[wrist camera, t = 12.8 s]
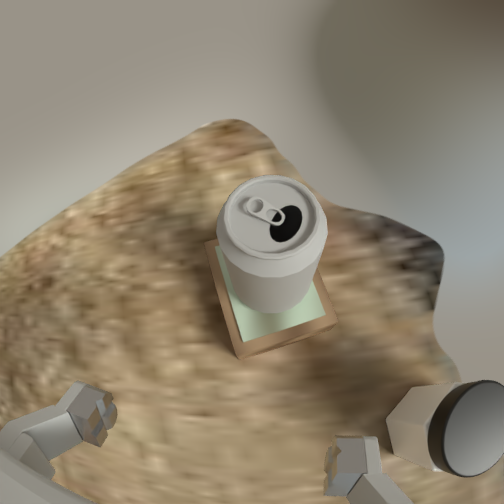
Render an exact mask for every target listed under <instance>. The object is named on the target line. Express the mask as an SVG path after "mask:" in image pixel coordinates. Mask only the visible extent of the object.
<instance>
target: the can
mask: <svg viewBox="0 0 504 504" xmlns="http://www.w3.org/2000/svg"><path fill="white" fill-rule="evenodd" d="M216 234H217V237H218V241H219V245H220V248H221V251H222V254H223V257H224V261H225V264H226V267H227V270H228V273H229V276H230V279H231V282H232V285H233V288H234V291H235V293H236V294H237V296H238V297H239V298H240V300H241V301H242V302H243V303H244V304H246V305H247V306H248V307H250V308H251V309H253V310H256V311H259V312H262V313H280V312H283V311H287V310H290V309H291V308H293V307H294V306H296V305H297V304H298V303H300V302H301V301H302V299H303V298H304V296H305V295H306V294H307V292H308V290H309V287H310V284H311V282H312V279H313V276H314V273H315V271H316V268H317V265H318V262H319V259H320V257H321V254H322V251H323V248H324V244H325V241H326V237H327V234H328V232H327V220H326V216H325V214H324V212H323V210H322V208H321V205H320V204H319V203H318V202H317V200H316V198H315V196H314V195H313V193H312V192H311V191H310V190H309V189H308V188H307V187H306V186H305V185H303V184H301V183H300V182H298V181H296V180H294V179H292V178H288V177H284V176H281V175H263V176H259V177H255V178H251V179H249V180H248V181H246V182H244V183H242V184H241V185H239V186H238V187H237V188H236V189H235V190H234V191H233V192H232V193H231V194H230V195H229V197H228V199H227V201H226V202H225V203H224V205H223V207H222V209H221V211H220V213H219V215H218V219H217V229H216Z"/></svg>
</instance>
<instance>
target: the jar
mask: <svg viewBox="0 0 504 504" xmlns="http://www.w3.org/2000/svg"><path fill="white" fill-rule="evenodd" d="M386 423H387V427H388V431H389V436H390V440H391V444H392V448H393V453H394V455H395V456H397V457H400V458H402V459H404V460H407V461H409V462H412V463H414V464H416V465H419V466H421V467H424V468H426V469H429V470H431V471H445V472H448V473H451V474H453V475H456V476H459V477H474V476H477V475H480V474H482V473H484V472H486V471H487V470H489V469H490V468H491V467H492V466H493V465H495V464H496V463H497V462H498V460H499V459H500V458H501V457H502V455H503V454H504V386H503V385H501V384H500V383H498V382H496V381H492V380H481V381H477V382H471V383H460V382H451V383H444V384H436V385H427V386H418V387H412V388H411V389H410V390H409V391H408V393H407V394H406V395H405V396H404V398H403V399H402V400H401V401H400V402H399V404H398V405H397V406H396V407H395V408H394V410H393V411H392V412H391V413H390V414H389V415H388V417H387V418H386Z"/></svg>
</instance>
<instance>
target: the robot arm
mask: <svg viewBox="0 0 504 504" xmlns="http://www.w3.org/2000/svg"><path fill="white" fill-rule="evenodd" d="M112 400H113V396H112V393H110V392H107V391H105V390H102V389H99V388H97V387H94V386H91V385H89V384H86V383H84V382H81V381H79V380H78V381H76V382H74V383H73V385H72V386H71V387H70V388H69V389H68V391H67V392H66V393H65V394H64V396H63V397H62V398H61V399H60V401H59V402H58V403H57V404H56V406H54V405H51V406H48V407H46V408H43V409H41V410H38V411H35V412H33V413H30V414H27V415H25V416H22V417H19V418H17V419H14V420H11V421H8V422H7V424H6V425H5V426H4V427H3V429H2V430H1V431H0V504H97V503H95V502H93V501H91V500H89V499H87V498H84V497H82V496H80V495H78V494H76V493H74V492H72V491H70V490H69V489H67V488H65V487H63V486H61V485H59V484H57V483H56V482H54V481H52V480H51V479H52V477H53V476H54V474H55V469H54V468H53V466H52V465H51V464H50V462H49V460H51V459H53V458H55V457H57V456H58V455H60V454H62V453H64V452H65V451H67V450H69V449H71V448H72V447H74V446H76V445H78V444H79V443H81V442H83V441H85V442H88V443H90V444H93V445H95V446H98V447H101V446H102V444H103V443H104V441H105V439H106V438H107V436H108V434H107V430H109V429H111V428H113V426H114V424H115V422H116V419H117V408H116V406H115V405H114V404H113V403H112ZM82 440H83V441H82ZM324 471H325V472H326V474H327V476H326V477H325V479H324V495H325V496H347V497H346V498H347V499H348V501H349V503H350V504H414V503H413V502H412V501H411V500H410V499H409V498H408V497H407V496H406V495H405V494H404V492H403V491H402V490H401V489H400V488H399V487H398V486H397V485H396V484H395V483H394V482H393V481H392V479H391V478H390V477H389V476H388V475H387V474H386V473H382V468H381V460H380V452H379V445H378V439H377V437H375V436H339V435H335V436H334V437H333V439H332V446H331V447H329V448H328V450H327V453H326V457H325V463H324Z"/></svg>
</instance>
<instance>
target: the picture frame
mask: <svg viewBox="0 0 504 504" xmlns="http://www.w3.org/2000/svg"><path fill="white" fill-rule="evenodd" d="M204 246H205V250H206V254H207V257H208V261H209V265H210V268H211V272H212V276H213V279H214V283H215V286H216V290H217V293H218V297H219V300H220V304H221V307H222V311H223V314H224V317H225V321H226V324H227V327H228V331H229V334H230V337H231V341H232V344H233V347H234V351H235V354H236V356H237V357H238V358H239V359H240V360H241V359H244V358H248V357H251V356H254V355H258V354H261V353H264V352H267V351H270V350H273V349H276V348H279V347H282V346H285V345H288V344H291V343H294V342H297V341H300V340H303V339H306V338H309V337H312V336H314V335H317V334H320V333H323V332H325V331H328V330H331V329H332V328H333V327H334V326H335V325H336V324H337V323H338V322H339V321H338V318H337V316H336V313H335V311H334V308H333V306H332V303H331V301H330V298H329V296H328V293H327V291H326V288H325V286H324V283H323V281H322V278H321V276H320V273H319V271H318V268H316V271H315V273H314V276H313V279H312V282H311V284H310V287H309V290H308V292H307V294H306V295H305V296H304V298H303V299H302V301H301V302H300V303H298V304H297V305H296V306H294V307H293V308H291V309H290V310H287V311H283V312H280V313H262V312H259V311H256V310H253V309H251V308H250V307H248V306H247V305H246V304H244V303H243V302H242V301H241V300H240V298H239V297H238V296H237V294H236V293H235V291H234V288H233V285H232V282H231V279H230V276H229V273H228V270H227V267H226V264H225V261H224V257H223V254H222V251H221V248H220V245H219V241H218V238H217V239H214V240H210V241H207V242H204Z"/></svg>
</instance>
